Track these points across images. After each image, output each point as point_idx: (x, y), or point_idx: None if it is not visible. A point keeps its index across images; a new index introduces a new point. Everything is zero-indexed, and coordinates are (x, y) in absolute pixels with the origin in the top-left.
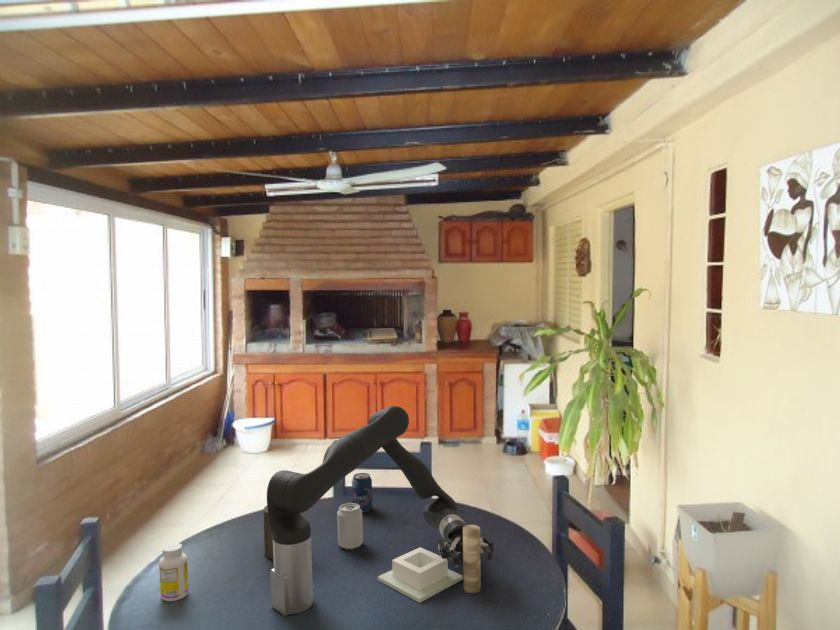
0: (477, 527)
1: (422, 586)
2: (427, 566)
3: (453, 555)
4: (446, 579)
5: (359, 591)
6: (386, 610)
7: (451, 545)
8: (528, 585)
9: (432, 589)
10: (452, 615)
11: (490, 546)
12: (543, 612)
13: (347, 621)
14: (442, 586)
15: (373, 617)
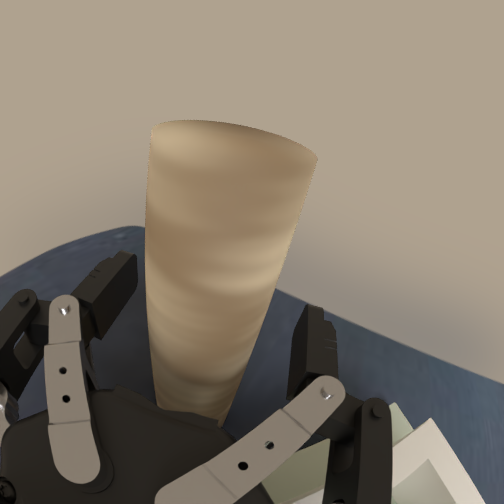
0: (176, 126)
1: None
2: (398, 465)
3: (326, 342)
4: (271, 488)
5: (499, 482)
6: (454, 400)
7: (310, 434)
8: None
9: None
10: None
11: (48, 302)
12: (122, 241)
13: (497, 384)
14: (309, 447)
15: (469, 384)
